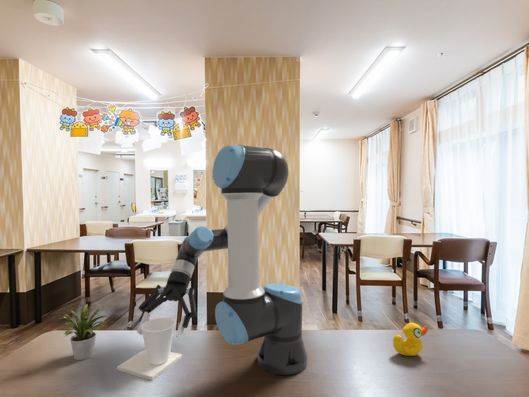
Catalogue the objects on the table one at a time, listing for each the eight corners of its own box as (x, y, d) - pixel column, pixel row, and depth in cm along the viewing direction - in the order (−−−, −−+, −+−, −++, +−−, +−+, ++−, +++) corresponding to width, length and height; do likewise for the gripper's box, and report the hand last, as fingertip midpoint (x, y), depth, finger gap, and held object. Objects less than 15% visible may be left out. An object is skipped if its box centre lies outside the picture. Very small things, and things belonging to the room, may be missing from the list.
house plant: (78, 374, 91) (77, 317, 90) (43, 365, 95) (42, 311, 95) (116, 350, 104) (116, 301, 104) (84, 344, 109) (83, 296, 108)
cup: (166, 370, 91) (166, 332, 91) (134, 367, 92) (134, 330, 92) (181, 353, 101) (180, 318, 100) (151, 350, 102) (151, 316, 102)
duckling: (421, 349, 106) (421, 319, 106) (432, 357, 101) (432, 326, 100) (389, 351, 104) (389, 321, 104) (398, 360, 99) (399, 328, 99)
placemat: (182, 357, 100) (182, 354, 100) (152, 380, 88) (152, 377, 88) (149, 349, 105) (149, 346, 105) (117, 370, 93) (117, 366, 93)
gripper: (216, 283, 115) (198, 343, 101) (153, 278, 121) (129, 335, 107) (210, 272, 110) (191, 334, 96) (145, 268, 115) (118, 326, 101)
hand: (158, 335), depth 101 cm, fingers open, 13 cm apart
